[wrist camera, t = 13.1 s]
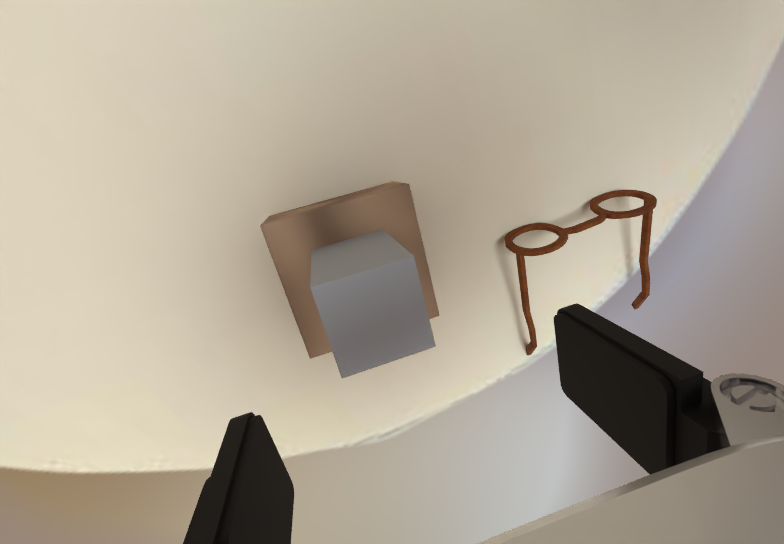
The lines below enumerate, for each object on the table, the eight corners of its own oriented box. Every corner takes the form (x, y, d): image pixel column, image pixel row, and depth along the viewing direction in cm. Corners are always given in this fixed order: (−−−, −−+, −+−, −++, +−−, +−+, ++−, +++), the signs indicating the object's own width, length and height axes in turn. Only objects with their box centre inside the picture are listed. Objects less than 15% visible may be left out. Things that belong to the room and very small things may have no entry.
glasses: (619, 185, 34) (669, 188, 29) (634, 306, 38) (680, 325, 33) (493, 236, 32) (523, 247, 28) (522, 355, 36) (553, 382, 32)
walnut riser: (393, 181, 29) (408, 183, 24) (420, 294, 32) (439, 315, 27) (269, 216, 27) (260, 225, 23) (310, 329, 31) (310, 358, 26)
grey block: (383, 229, 24) (413, 255, 17) (400, 295, 26) (435, 346, 19) (311, 250, 24) (310, 287, 16) (333, 316, 25) (341, 378, 18)
